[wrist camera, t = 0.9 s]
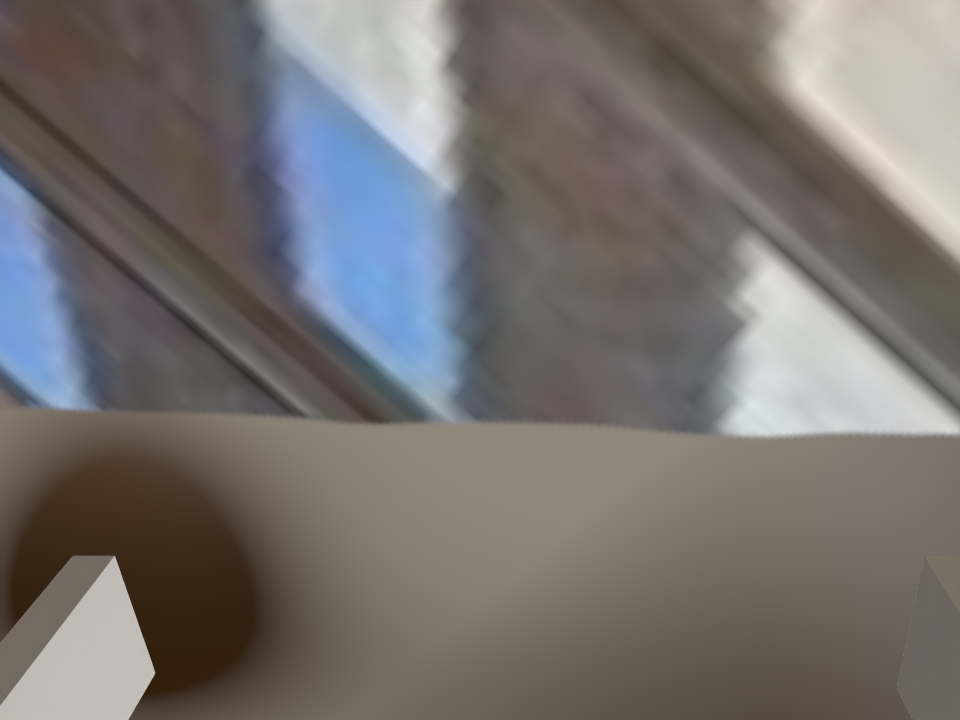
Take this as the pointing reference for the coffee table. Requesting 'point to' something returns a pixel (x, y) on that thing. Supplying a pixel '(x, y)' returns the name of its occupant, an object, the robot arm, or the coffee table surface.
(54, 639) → the robot arm
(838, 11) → the coffee table surface
